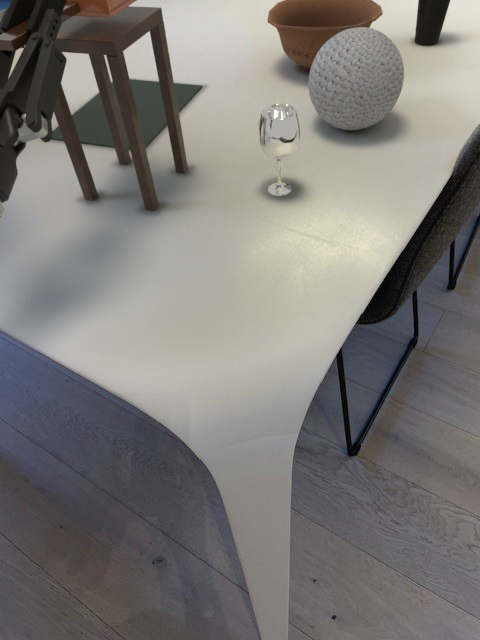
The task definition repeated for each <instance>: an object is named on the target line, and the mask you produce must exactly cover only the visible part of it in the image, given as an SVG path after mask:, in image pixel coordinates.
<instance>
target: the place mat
mask: <svg viewBox="0 0 480 640" xmlns="http://www.w3.org/2000/svg"><path fill="white" fill-rule="evenodd" d="M129 79H130V83H131V87H132V92H133V96H134V100H135V105H136V109H137V114H138V118H139V122H140V127H141V131H142V135H143V140H144V144H145V148H146V149H147V148H148V146H150V144H151V143H152V142H153V141H154V140H155V139H156V138H157V137H158V136H159V135H160V134H161V133H162V132H163V131H164V130H165V129H166V127H168V126H167V121H166V116H165V110H164V105H163V100H162V94H161V89H160V84H159V81H154V80H141V79H132V78H129ZM111 84H112V88H113V92H114V96H115V100H116V104H117V107H118V111H119V115H120V119H121V123H122V127H123V131H124V135H125V138H126V142H127V146H128V150H129V151H130V147H129V143H128V139H127V135H126V131H125V127H124V124H123V120H122V116H121V112H120V108H119V104H118V100H117V96H116V92H115V88H114V84H113V81H111ZM174 87H175V93H176V99H177V105H178V111H179V113H180V112H181V111H182V110H183V109H184V108H185V107H186V106H187V104H188V103H190V102H191V101H192V100H193V98H194V97H195V96H196V95H197V94H198V93H199V92H200V91H201V90H202V89H203V85H201V84H189V83H178V82H174ZM71 115H72V118H73V121H74V124H75V127H76V130H77V133H78V136H79V139H80V142H81V145H90V146H97V147H105V148H112V149H115V147H114V143H113V139H112V136H111V132H110V129H109V125H108V122H107V118H106V114H105V111H104V107H103V104H102V100H101V97H100V93H99V92H98V93H97V94H96V95H94V96H93V97H92V98H91V99H90V100H89V101H87V102H86V103H85V104H83V105H82V106H81V107H80V108H79V109H77V110H76V111H75V112H74V113H73V114H71ZM52 134H53V136H52V139H51V140H52V141H59V142H60V141H61V142H64V139H63V136H62V134H61V131H60V128H59V125H58V126H57V127H56V128H54V129H52Z"/></svg>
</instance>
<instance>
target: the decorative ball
mask: <svg viewBox="0 0 480 640" xmlns="http://www.w3.org/2000/svg"><path fill="white" fill-rule="evenodd" d="M404 67H405V66H404V62H403V58H402V55H401V53H400V50H399V48H398V47H397V46H396V44H395V43H394V41H393V40H392V39H391V38H390V37H389V36H388V35H386V34H385V33H383V32H381V31H380V30H377V29H374V28H371V27H370V28H367V27H355V28H350V29H347V30H344V31H342V32H340V33H338V34H336V35H335V36H333V37H332V38H330V39H329V40H328V41H327V42H326V43H325V44H324V45H323V46H322V47H321V49H320V50H319V51H318V53H317V55H316V57H315V59H314V61H313V64H312V66H311V70H310V74H308V93H309V97H310V101H311V104H312V106H313V108H314V110H315V112H316V113H317V114H318V115H319V117H320V118H321V119H322V120H324V122H326V123H327V124H329V125H330V126H332V127H334V128H336V129H339V130H343V131H360V130H364V129H367V128H370V127H372V126H374V125H375V124H378V123H379V122H380V121H382V120H384V119H385V118H386V117H387V116H388V115H389V113H390V112H392V110H393V108H394V107H395V106H396V104H397V102H398V100H399V98H400V95H401V93H402V89H403V86H404V81H405V80H404V79H405V68H404Z"/></svg>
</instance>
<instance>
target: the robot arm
mask: <svg viewBox="0 0 480 640" xmlns="http://www.w3.org/2000/svg"><path fill="white" fill-rule="evenodd" d="M66 1H67V0H11V1H10V4H9V6H8V7H6V9H5V10H4V12H3V15H2V18H1V20H0V35H1V34H3V33H5V32H6V31H8V30H10V29H12V28H13V27H15V26H17V25H19V24H21V23H22V22H24V21H26V20H28V19H29V22H28V24H27V27H26V29H25V30H26V31H27V32H28V33H29V34H30V37H29V39H28V41H27V43H26V45H25V46H23V47H21V48H20V49H23V50H22V52H21V54H20V55H19V57H18V58H17V61H16V62H15V65H14V67H13V63H14V60H15V56H16V53H17V50H16V51H2V50H0V222H1V221H2V218H3V215H4V213H5V207H4V205H3V204H4V203H5V202H8V201H9V199H10V198H11V197H10V196H11V194H12V191H13V188H14V186H15V183H16V181H17V178H18V174H19V171H18V167H17V160H18V157H19V155H20V154H21V153H23V151H24V150H25V148H26V147H27V143H28V142H31V141H34V140H37V139H40V140H41V141H42V142H44V143H49V142H50V141H51V140H52V136H53V134H52V131H53V124H52V120H53V116H54V108H55V104H56V101H57V97H58V93H59V89H60V85H62V81H63V76H64V72H65V69H66V65H67V56H66V55H64V52H61V51H60V49H59V48H58V47H57V46H56V44H55V40H56V37H57V35H58V32H59V28H60V27H61V24H62V22H61V18H60V17H61V14H62V12H63V9H64V6H65V4H66ZM12 67H13V69H12Z"/></svg>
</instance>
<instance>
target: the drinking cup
mask: <svg viewBox="0 0 480 640" xmlns="http://www.w3.org/2000/svg"><path fill="white" fill-rule="evenodd" d="M450 4H451V0H418V3H417V12H416V22H415V23H416V24H415V33H414V34H415V35H414V43H415V44H416V45H417V46H421V47H422V46H424V47H431V46H435V45H437V44H438V43H439V40H440V36H441V33H442V30H443V27H444V23H445V20H446V17H447V14H448V9H449V5H450Z"/></svg>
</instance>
